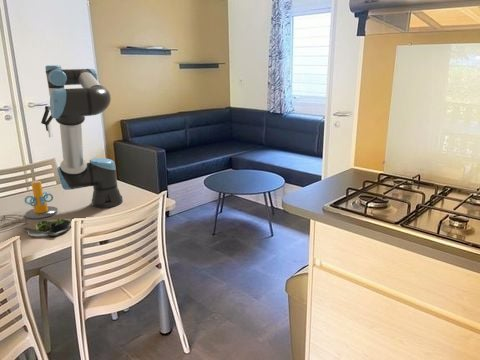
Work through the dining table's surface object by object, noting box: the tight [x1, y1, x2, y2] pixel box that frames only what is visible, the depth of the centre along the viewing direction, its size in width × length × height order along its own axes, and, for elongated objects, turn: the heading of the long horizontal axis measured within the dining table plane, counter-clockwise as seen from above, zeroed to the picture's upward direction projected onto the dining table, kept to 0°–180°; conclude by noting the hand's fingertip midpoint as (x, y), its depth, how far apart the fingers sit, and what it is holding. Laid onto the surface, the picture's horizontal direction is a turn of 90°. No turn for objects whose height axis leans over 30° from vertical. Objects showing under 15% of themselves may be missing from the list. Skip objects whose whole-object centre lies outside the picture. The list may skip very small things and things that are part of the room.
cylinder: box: [24, 180, 54, 214], centre depth 183 cm, size 12×10×15 cm
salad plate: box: [22, 218, 72, 238], centre depth 166 cm, size 19×18×5 cm
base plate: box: [24, 205, 59, 220], centre depth 185 cm, size 14×14×1 cm
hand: (63, 136), depth 205 cm, fingers open, 13 cm apart
